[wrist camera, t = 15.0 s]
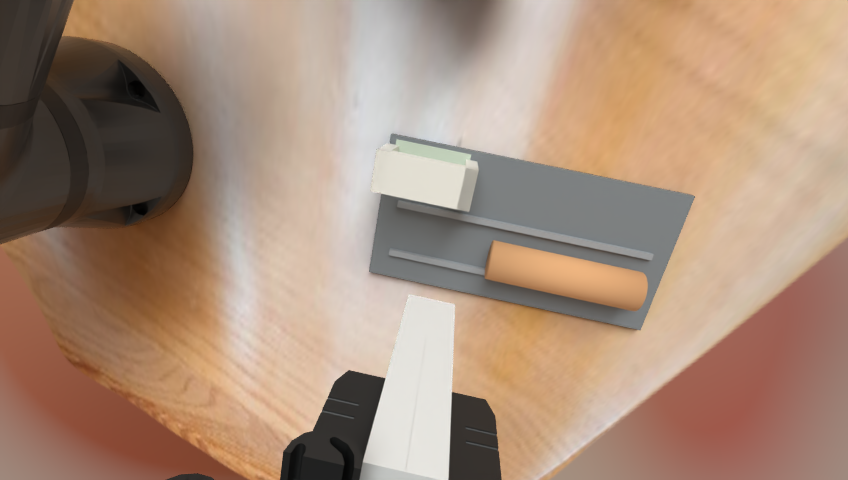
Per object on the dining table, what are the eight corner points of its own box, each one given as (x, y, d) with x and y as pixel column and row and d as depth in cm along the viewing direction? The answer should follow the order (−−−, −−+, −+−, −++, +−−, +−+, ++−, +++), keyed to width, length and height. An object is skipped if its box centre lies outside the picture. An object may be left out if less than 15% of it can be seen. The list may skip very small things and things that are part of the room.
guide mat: (370, 269, 38) (368, 273, 37) (392, 133, 34) (390, 134, 33) (637, 326, 37) (642, 332, 36) (691, 194, 33) (697, 197, 32)
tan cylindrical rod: (485, 259, 37) (483, 287, 34) (495, 232, 34) (493, 259, 32) (624, 289, 36) (631, 319, 34) (642, 263, 34) (651, 293, 32)
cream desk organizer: (387, 143, 34) (376, 149, 29) (477, 161, 33) (478, 170, 29) (382, 180, 35) (370, 191, 30) (468, 198, 34) (469, 212, 30)
